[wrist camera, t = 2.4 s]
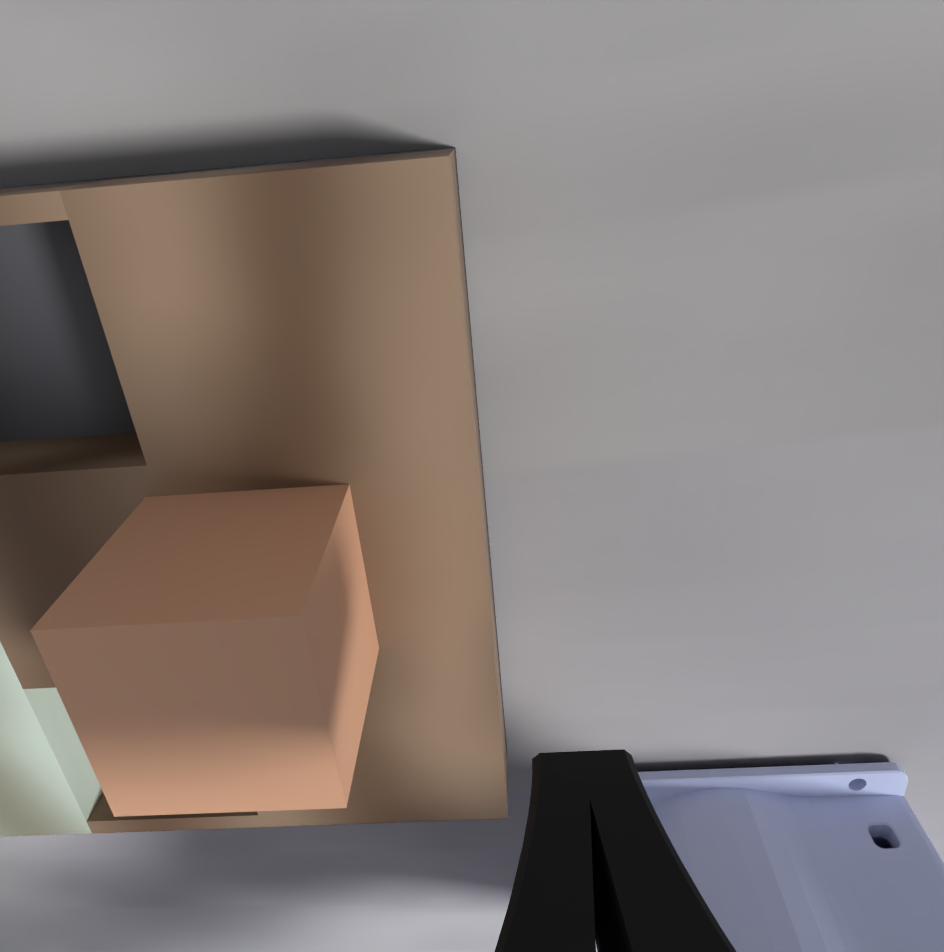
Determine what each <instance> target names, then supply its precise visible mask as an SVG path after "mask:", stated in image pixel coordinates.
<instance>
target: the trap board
mask: <svg viewBox="0 0 944 952" xmlns="http://www.w3.org/2000/svg"><path fill="white" fill-rule="evenodd" d="M344 484H350V490H351V495H352V501H353V506H354V512H355V518H356V523H357V529H358V534H359V540H360V545H361V551H362V556H363V562H364V567H365V573H366V579H367V584H368V590H369V595H370V601H371V606H372V612H373V617H374V623H375V628H376V634H377V640H378V645H379V651H378V656H377V661H376V666H375V670H374V675H373V680H372V685H371V690H370V695H369V700H368V705H367V710H366V715H365V720H364V724H363V729H362V734H361V739H360V744H359V749H358V754H357V759H356V764H355V769H354V773H353V778H352V783H351V788H350V793H349V798H348V803H347V808H335V809H308V810H281V811H254V812H227V813H200V814H173V815H146V816H119V817H114V815H113V813H112V811H111V808H110V806H109V804H108V802H107V800H106V797H105V795H104V793H103V791H102V789H101V786H100V784H99V782H98V780H97V777H96V775H95V773H94V771H93V769H92V766H91V764H90V762H89V760H88V757H87V755H86V753H85V751H84V749H83V746H82V744H81V742H80V740H79V737H78V735H77V733H76V731H75V729H74V726H73V724H72V722H71V720H70V718H69V715H68V713H67V711H66V709H65V706H64V704H63V702H62V700H61V698H60V695H59V693H58V691H57V689H56V686H55V684H54V682H53V680H52V678H51V675H50V673H49V671H48V669H47V667H46V664H45V662H44V660H43V658H42V655H41V653H40V651H39V649H38V647H37V644H36V642H35V640H34V638H33V635H32V633H31V631H30V630H31V629H32V628H33V627H34V625H35V624H36V623H37V622H38V621H39V620H40V619H41V617H42V616H43V615H44V614H45V613H46V612H47V610H48V609H49V608H50V607H51V606H52V605H53V603H54V602H55V601H56V600H57V599H58V598H59V597H60V595H61V594H62V593H63V592H64V591H65V590H66V588H67V587H68V586H69V585H70V584H71V583H72V582H73V580H74V579H75V578H76V577H77V576H78V575H79V573H80V572H81V571H82V570H83V569H84V568H85V566H86V565H87V564H88V563H89V562H90V561H91V560H92V558H93V557H94V556H95V555H96V554H97V553H98V551H99V550H100V549H101V548H102V547H103V546H104V544H105V543H106V542H107V541H108V540H109V539H110V538H111V536H112V535H113V534H114V533H115V532H116V531H117V529H118V528H119V527H120V526H121V525H122V524H123V523H124V521H125V520H126V519H127V518H128V517H129V516H130V514H131V513H132V512H133V511H134V510H135V509H136V507H137V506H138V505H139V504H140V503H141V502H142V501H143V499H144V498H145V497H154V496H170V495H186V494H202V493H218V492H233V491H249V490H265V489H281V488H296V487H312V486H328V485H344ZM507 818H508V782H507V745H506V734H505V722H504V710H503V699H502V687H501V675H500V664H499V652H498V641H497V629H496V617H495V606H494V594H493V582H492V571H491V559H490V547H489V536H488V524H487V512H486V501H485V489H484V478H483V466H482V454H481V443H480V431H479V419H478V408H477V396H476V384H475V373H474V361H473V349H472V338H471V326H470V315H469V303H468V291H467V280H466V268H465V256H464V245H463V233H462V221H461V210H460V198H459V186H458V175H457V163H456V151H455V147H451V148H440V149H429V150H418V151H407V152H396V153H384V154H373V155H362V156H351V157H340V158H329V159H318V160H307V161H296V162H284V163H273V164H262V165H251V166H240V167H229V168H218V169H207V170H196V171H184V172H173V173H162V174H151V175H140V176H129V177H118V178H107V179H96V180H84V181H73V182H62V183H51V184H40V185H29V186H18V187H7V188H0V837H2V836H30V835H58V834H86V833H114V832H142V831H170V830H198V829H226V828H254V827H282V826H310V825H338V824H367V823H395V822H423V821H451V820H479V819H507Z"/></svg>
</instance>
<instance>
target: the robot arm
mask: <svg viewBox="0 0 944 952" xmlns="http://www.w3.org/2000/svg"><path fill="white" fill-rule="evenodd" d="M532 771H533V774H532V789H531V799H530V807H529V814H528V820H527V825H526V831H525V836H524V842H523V847H522V851H521V855H520V860H519V864H518V868H517V873H516V877H515V881H514V885H513V890H512V894H511V898H510V902H509V905H508V909H507V912H506V916H505V919H504V922H503V926H502V929H501V933H500V936H499V939H498V943H497V946H496V949H495V952H596V945H597V950H598V952H944V863H943V861H942V859H941V858H940V856H939V854H938V853H937V851H936V849H935V848H934V846H933V844H932V842H931V841H930V839H929V837H928V836H927V834H926V832H925V831H924V829H923V827H922V826H921V824H920V822H919V820H918V819H917V817H916V815H915V814H914V812H913V810H912V809H911V807H910V805H909V803H908V802H907V800H906V798H905V797H904V793H905V790H906V786H907V782H908V777H907V775H906V774H905V772H904V770H903V769H902V767H901V766H900V765H898V764H896V763H891V762H879V763H854V764H828V765H802V766H777V767H751V768H725V769H700V770H674V771H648V772H637V769H636V767H635V764H634V761H633V758H632V756H631V755H630V754H629V753H628V752H626V751H625V750H602V751H578V752H554V753H539V754H538V755H537V756H536V757H534V758H533V759H532ZM595 940H596V945H595Z"/></svg>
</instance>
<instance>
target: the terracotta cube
mask: <svg viewBox="0 0 944 952" xmlns="http://www.w3.org/2000/svg"><path fill="white" fill-rule="evenodd" d="M30 631H31V633H32V635H33V638H34V640H35V642H36V644H37V647H38V649H39V651H40V653H41V655H42V658H43V660H44V662H45V664H46V667H47V669H48V671H49V673H50V675H51V678H52V680H53V682H54V684H55V686H56V689H57V691H58V693H59V695H60V698H61V700H62V702H63V704H64V706H65V709H66V711H67V713H68V715H69V718H70V720H71V722H72V724H73V726H74V729H75V731H76V733H77V735H78V737H79V740H80V742H81V744H82V746H83V749H84V751H85V753H86V755H87V757H88V760H89V762H90V764H91V766H92V769H93V771H94V773H95V775H96V777H97V780H98V782H99V784H100V786H101V789H102V791H103V793H104V795H105V797H106V800H107V802H108V804H109V806H110V808H111V811H112V813H113V815H114V817H119V816H146V815H173V814H200V813H227V812H254V811H281V810H308V809H335V808H347V803H348V798H349V793H350V788H351V783H352V778H353V773H354V769H355V764H356V759H357V754H358V749H359V744H360V739H361V734H362V729H363V724H364V720H365V715H366V710H367V705H368V700H369V695H370V690H371V685H372V680H373V675H374V670H375V666H376V661H377V656H378V651H379V645H378V640H377V634H376V628H375V623H374V617H373V612H372V606H371V601H370V595H369V590H368V584H367V579H366V573H365V567H364V562H363V556H362V551H361V545H360V540H359V534H358V529H357V523H356V518H355V512H354V506H353V501H352V495H351V490H350V484H344V485H328V486H312V487H296V488H281V489H265V490H249V491H233V492H218V493H202V494H186V495H170V496H154V497H145V498H144V499H143V501H142V502H141V503H140V504H139V505H138V506H137V507H136V509H135V510H134V511H133V512H132V513H131V514H130V516H129V517H128V518H127V519H126V520H125V521H124V523H123V524H122V525H121V526H120V527H119V528H118V529H117V531H116V532H115V533H114V534H113V535H112V536H111V538H110V539H109V540H108V541H107V542H106V543H105V544H104V546H103V547H102V548H101V549H100V550H99V551H98V553H97V554H96V555H95V556H94V557H93V558H92V560H91V561H90V562H89V563H88V564H87V565H86V566H85V568H84V569H83V570H82V571H81V572H80V573H79V575H78V576H77V577H76V578H75V579H74V580H73V582H72V583H71V584H70V585H69V586H68V587H67V588H66V590H65V591H64V592H63V593H62V594H61V595H60V597H59V598H58V599H57V600H56V601H55V602H54V603H53V605H52V606H51V607H50V608H49V609H48V610H47V612H46V613H45V614H44V615H43V616H42V617H41V619H40V620H39V621H38V622H37V623H36V624H35V625H34V627H33V628H32V629H31V630H30Z"/></svg>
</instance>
